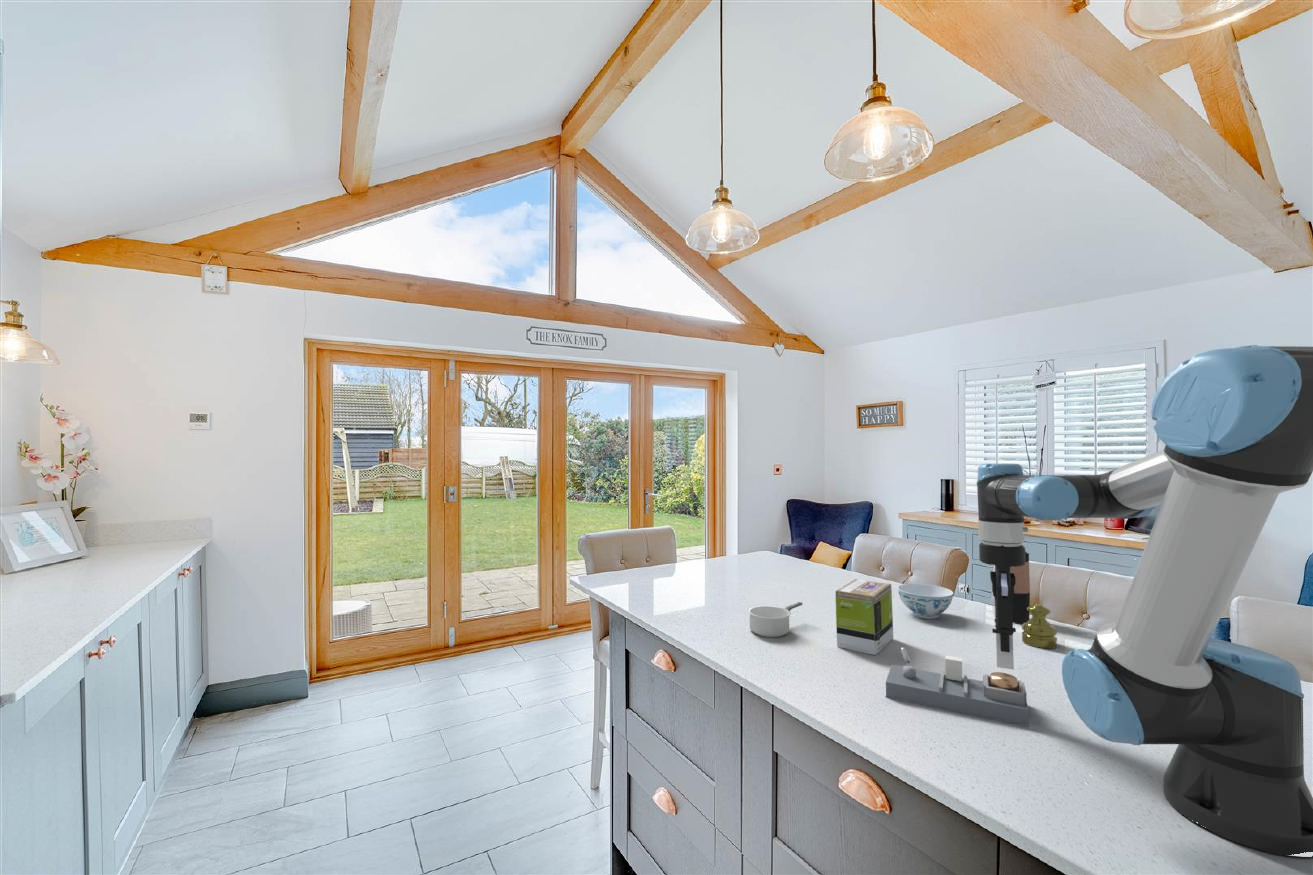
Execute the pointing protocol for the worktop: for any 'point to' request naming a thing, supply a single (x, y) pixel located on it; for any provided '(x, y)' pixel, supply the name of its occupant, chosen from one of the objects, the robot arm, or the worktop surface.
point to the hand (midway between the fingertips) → (1005, 666)
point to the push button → (1003, 681)
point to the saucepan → (770, 620)
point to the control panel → (958, 694)
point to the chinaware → (925, 599)
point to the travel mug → (1021, 592)
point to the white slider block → (953, 668)
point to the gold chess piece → (1039, 628)
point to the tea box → (864, 616)
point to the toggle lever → (905, 655)
